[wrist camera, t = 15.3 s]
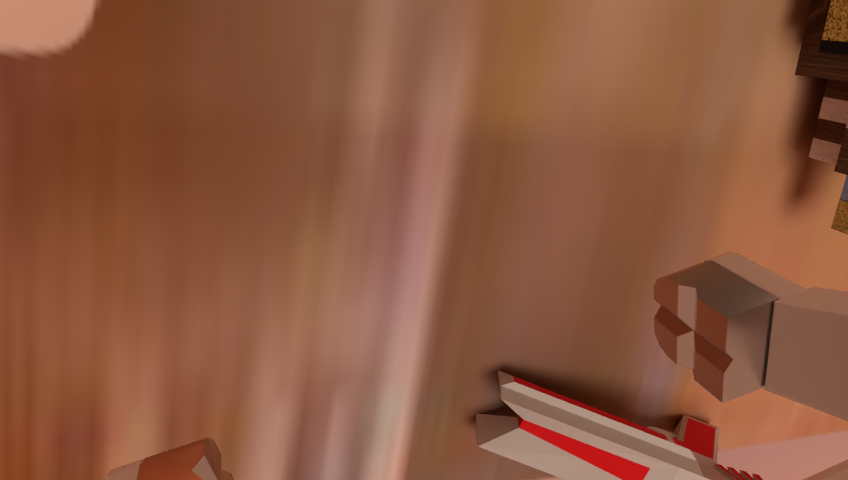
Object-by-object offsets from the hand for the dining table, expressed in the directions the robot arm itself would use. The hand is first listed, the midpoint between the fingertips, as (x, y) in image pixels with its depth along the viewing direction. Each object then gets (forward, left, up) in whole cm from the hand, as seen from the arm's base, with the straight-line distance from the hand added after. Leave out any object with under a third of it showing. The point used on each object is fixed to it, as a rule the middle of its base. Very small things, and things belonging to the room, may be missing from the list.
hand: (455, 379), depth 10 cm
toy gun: (+21, -38, -32) cm, 53 cm away
